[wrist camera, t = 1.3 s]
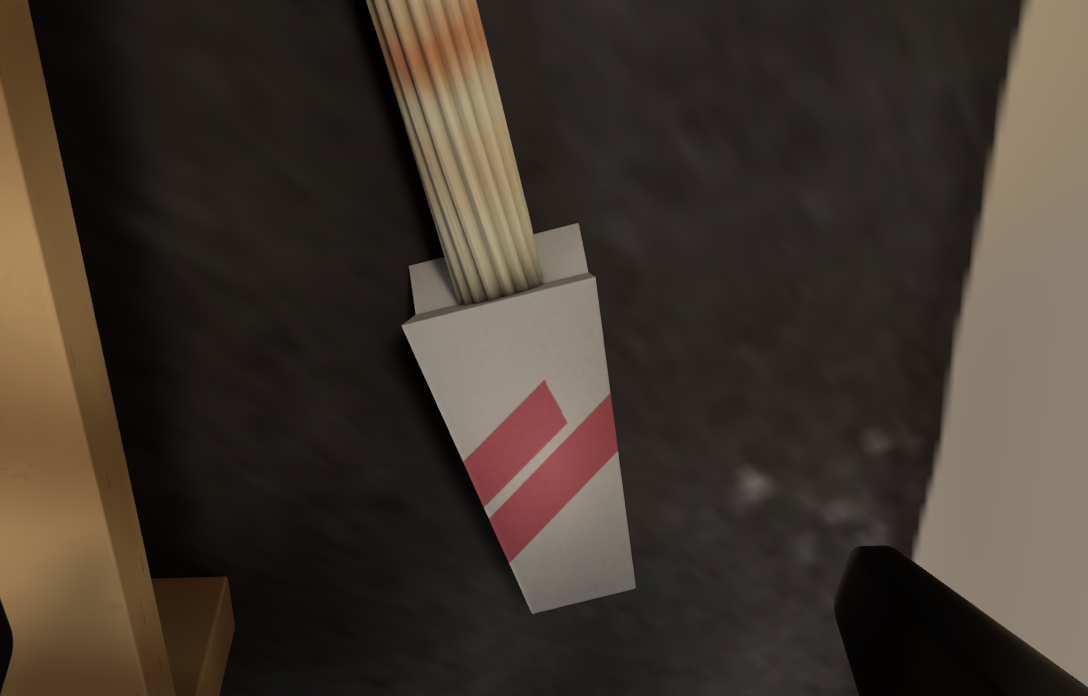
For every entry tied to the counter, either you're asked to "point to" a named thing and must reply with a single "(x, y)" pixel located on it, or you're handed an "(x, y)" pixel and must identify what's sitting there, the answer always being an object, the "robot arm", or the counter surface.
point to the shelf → (74, 450)
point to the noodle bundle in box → (506, 320)
